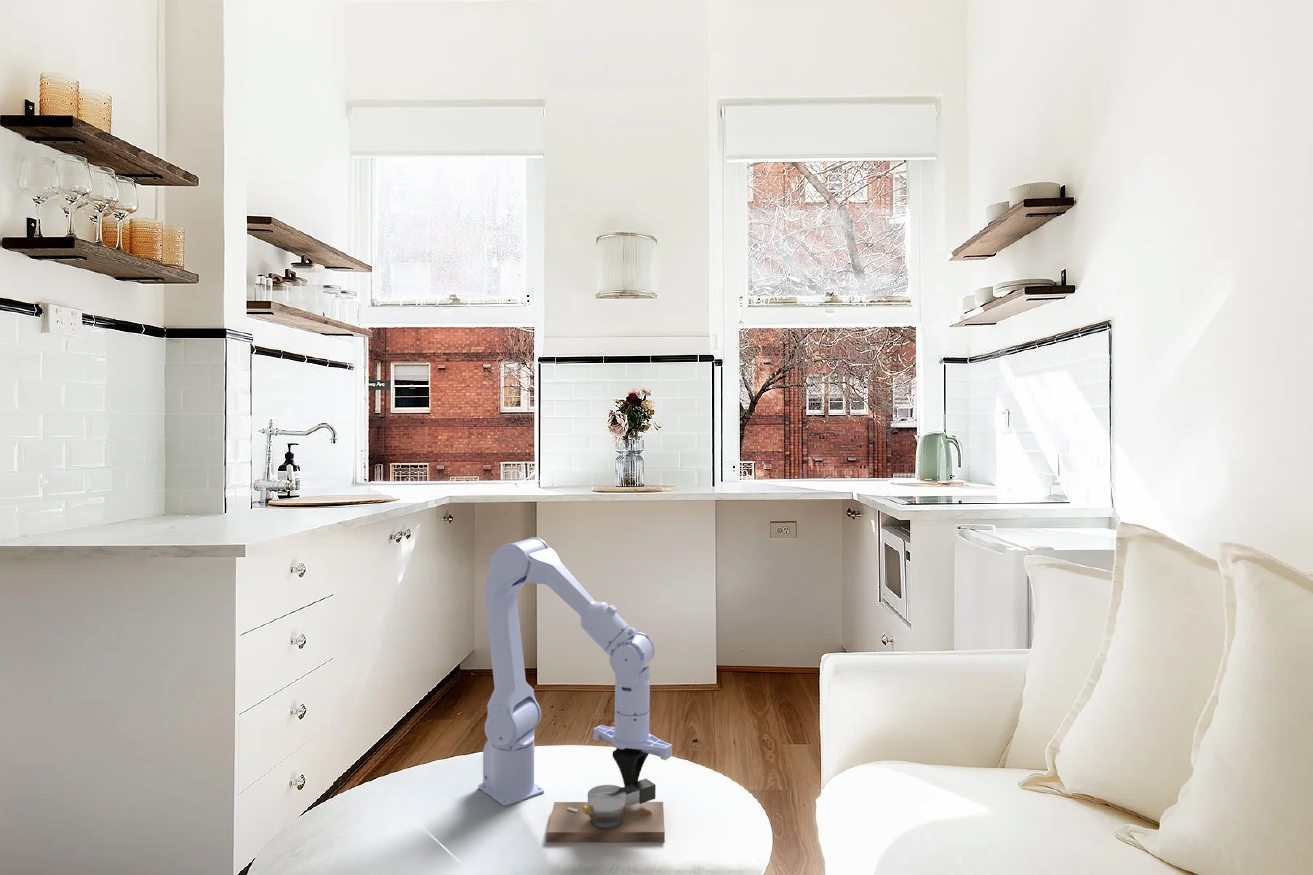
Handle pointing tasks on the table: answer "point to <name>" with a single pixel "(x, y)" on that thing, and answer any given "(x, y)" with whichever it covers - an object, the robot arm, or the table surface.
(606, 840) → the mounting board
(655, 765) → the table surface
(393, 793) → the table surface
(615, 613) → the robot arm
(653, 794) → the silver saucepan
